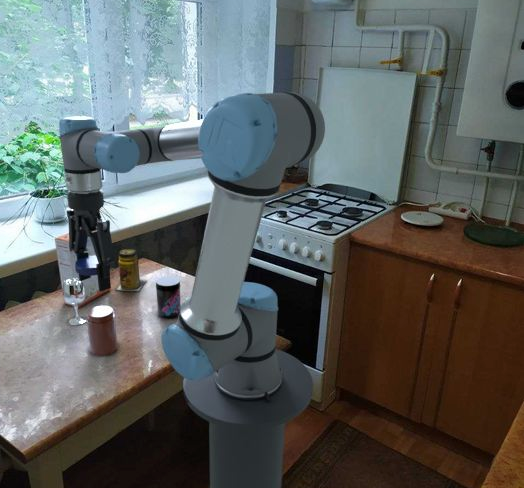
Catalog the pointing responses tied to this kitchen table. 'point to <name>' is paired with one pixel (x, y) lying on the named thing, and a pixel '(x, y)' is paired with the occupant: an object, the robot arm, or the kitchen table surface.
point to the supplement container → (168, 296)
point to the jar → (102, 330)
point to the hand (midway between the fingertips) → (94, 283)
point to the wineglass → (74, 297)
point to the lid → (87, 265)
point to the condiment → (129, 271)
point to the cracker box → (69, 271)
